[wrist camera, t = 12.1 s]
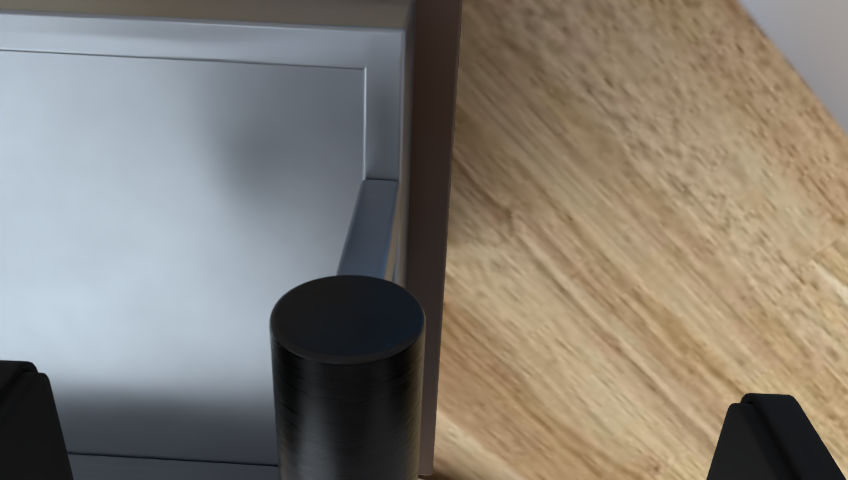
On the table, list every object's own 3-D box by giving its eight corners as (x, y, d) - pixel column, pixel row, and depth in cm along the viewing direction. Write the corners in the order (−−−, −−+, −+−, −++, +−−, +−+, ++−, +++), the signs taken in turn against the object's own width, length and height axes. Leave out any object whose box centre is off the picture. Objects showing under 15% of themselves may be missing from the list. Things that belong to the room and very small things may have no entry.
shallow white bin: (-61, 444, 18) (-370, 806, 12) (-228, -44, 13) (-978, 87, 6) (420, 473, 18) (397, 859, 11) (446, -10, 13) (432, 163, 6)
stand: (50, -110, 23) (-237, -69, 13) (452, -91, 23) (465, -36, 13) (111, 244, 28) (-57, 457, 19) (433, 257, 28) (432, 476, 19)
